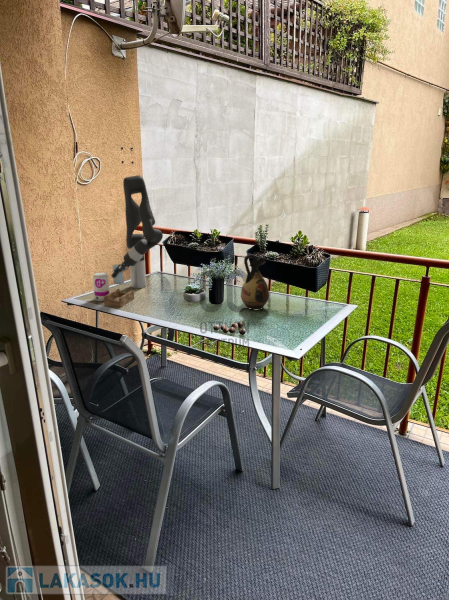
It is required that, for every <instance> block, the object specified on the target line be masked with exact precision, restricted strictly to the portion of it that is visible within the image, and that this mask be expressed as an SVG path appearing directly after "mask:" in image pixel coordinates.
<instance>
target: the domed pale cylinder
mask: <svg viewBox="0 0 449 600" xmlns="http://www.w3.org/2000/svg"><path fill="white" fill-rule="evenodd" d="M118 265H119V264H117V263H116V264H113V265H112V274H113V273H114V270H115V269H116V268H117V267H118ZM122 270H123V269H122ZM117 271H118V270H117ZM124 277H125V275H124V272H123V271H122V272H120V273H119V274H118V275H117V276H116V277H115V278H113V277H112V279H113V280H112V281H113V284H114V285H123V284H125V279H124Z"/></svg>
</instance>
